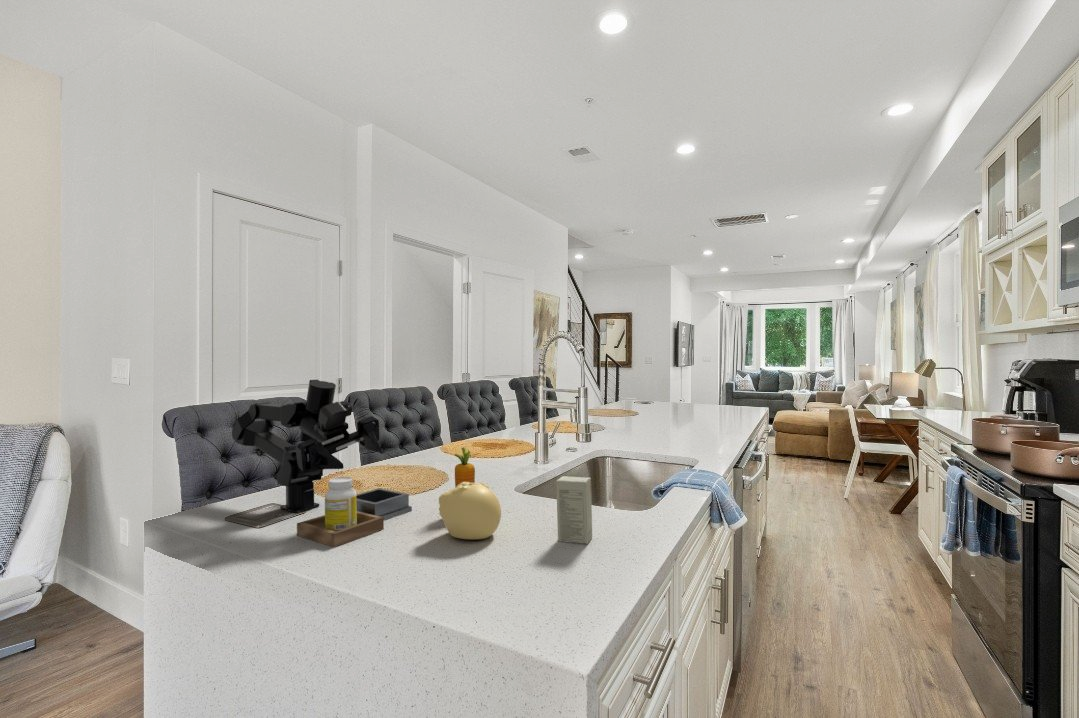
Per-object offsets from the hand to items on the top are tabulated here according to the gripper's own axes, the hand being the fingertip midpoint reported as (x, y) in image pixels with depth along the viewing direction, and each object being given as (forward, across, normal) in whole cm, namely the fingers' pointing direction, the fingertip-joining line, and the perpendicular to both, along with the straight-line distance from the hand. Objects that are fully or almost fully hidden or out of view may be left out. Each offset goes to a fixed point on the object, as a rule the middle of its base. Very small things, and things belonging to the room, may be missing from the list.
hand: (362, 458), depth 113 cm
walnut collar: (+3, -8, +13) cm, 16 cm away
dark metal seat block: (-2, +4, +18) cm, 18 cm away
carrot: (+14, +17, +16) cm, 27 cm away
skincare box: (+42, +20, +8) cm, 48 cm away
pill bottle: (+3, -8, +13) cm, 16 cm away
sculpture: (+25, +8, +10) cm, 28 cm away
